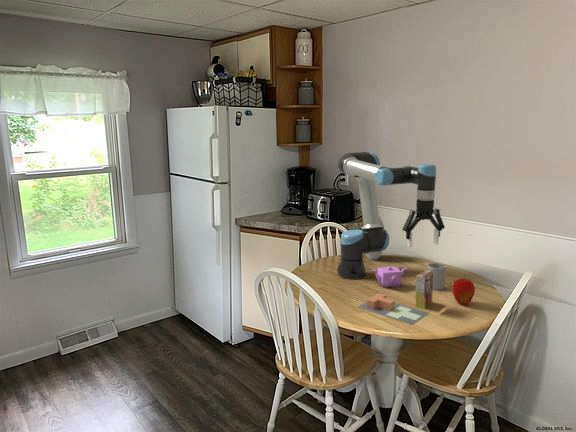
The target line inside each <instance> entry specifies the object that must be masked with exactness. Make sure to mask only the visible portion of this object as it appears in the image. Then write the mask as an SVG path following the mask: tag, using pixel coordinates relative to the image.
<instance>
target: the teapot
mask: <svg viewBox="0 0 576 432" xmlns="http://www.w3.org/2000/svg"><path fill="white" fill-rule="evenodd" d="M406 270H408V268H407V267H404V268H402V269H401V270H400V269H399V268H398V267H397V266H389V265H388V266H384V267H377V270H376V269H371V271H373V272H374V274H375V277H376V279H377V280H376V281H377V283H378V284H379V285H380V287H382V288H384V289H389V287H392V288H393V289H397V288H398V287H401V286H402V278H403V275H404V272H405V271H406Z"/></svg>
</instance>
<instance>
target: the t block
mask: <svg viewBox="0 0 576 432" xmlns="http://www.w3.org/2000/svg"><path fill="white" fill-rule="evenodd" d="M366 302H367V308H370V309H373V310H374V309H376V308H377V307H378V308H382V309H385V310H388V311H391V310H393V309H394V305H395V303H396V302H395V300H394V299H393V300H392V299H389V298H387V294H383V293H377V294H375V295H374V296H371V297H369V298H367V299H366Z"/></svg>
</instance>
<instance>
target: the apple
mask: <svg viewBox="0 0 576 432" xmlns="http://www.w3.org/2000/svg"><path fill="white" fill-rule="evenodd" d="M475 291H476V287H475V285H474V283H473V282H472V281H471V280H470V279H467V278H458V279H456V280H454V282H453V284H452V294H453V297H454V300H455V301H456V302H457V303H458V304H459V305H461V306H464V305H465V306H466V305H468V304H469V303H470V302H471V301H472V299H473V298H474V296H475Z"/></svg>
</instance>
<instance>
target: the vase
mask: <svg viewBox="0 0 576 432" xmlns="http://www.w3.org/2000/svg"><path fill="white" fill-rule="evenodd" d="M379 221H380V224H381V225H382V226H383V229H384V230H386V229H385V226H384V222H383V220H382V218H381V217H380V216H379ZM382 253H383V251H380V252H374V253H367V254H365V255H366V257H367V259H368V260H372V261H374V260H375V261H377V260H379V258H380V257H381V255H382Z"/></svg>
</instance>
